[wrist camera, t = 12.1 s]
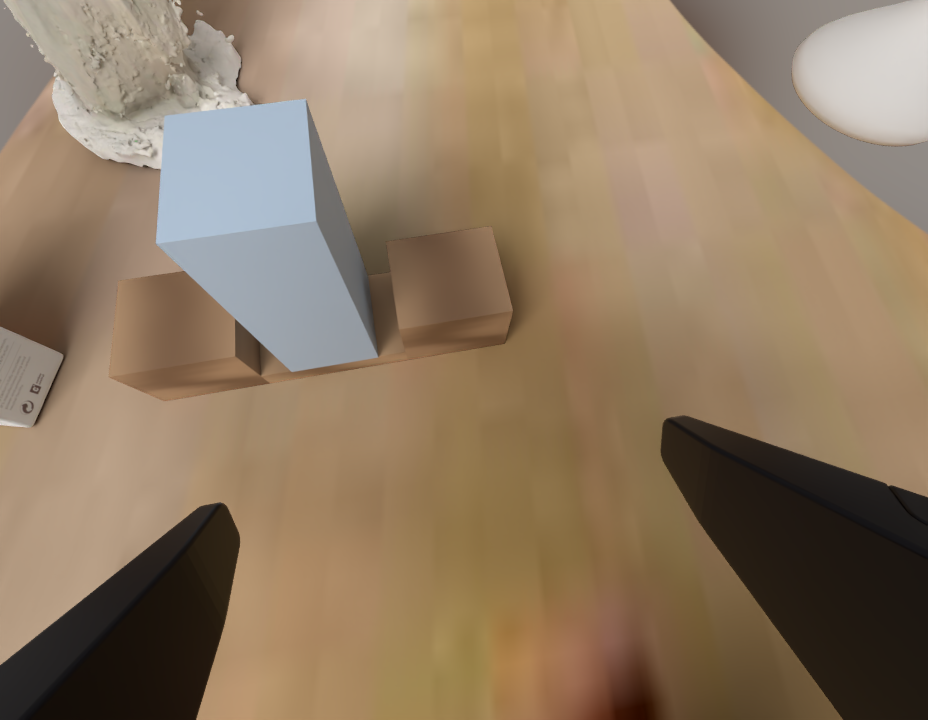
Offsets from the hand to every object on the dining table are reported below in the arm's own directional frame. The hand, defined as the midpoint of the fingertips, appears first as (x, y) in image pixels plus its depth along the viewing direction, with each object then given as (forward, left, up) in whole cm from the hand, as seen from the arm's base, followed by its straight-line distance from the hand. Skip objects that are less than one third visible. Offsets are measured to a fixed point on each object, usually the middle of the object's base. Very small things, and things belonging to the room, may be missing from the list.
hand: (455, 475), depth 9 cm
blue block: (+10, +5, -12) cm, 17 cm away
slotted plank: (+11, +5, -14) cm, 18 cm away
